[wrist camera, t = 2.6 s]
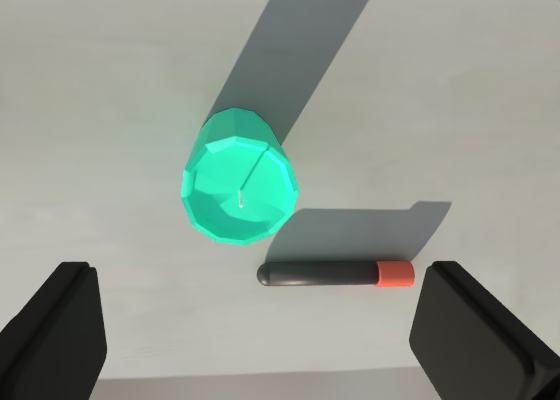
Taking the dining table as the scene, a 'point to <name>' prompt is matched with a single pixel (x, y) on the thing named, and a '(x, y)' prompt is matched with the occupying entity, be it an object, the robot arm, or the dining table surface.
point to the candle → (238, 179)
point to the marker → (337, 273)
